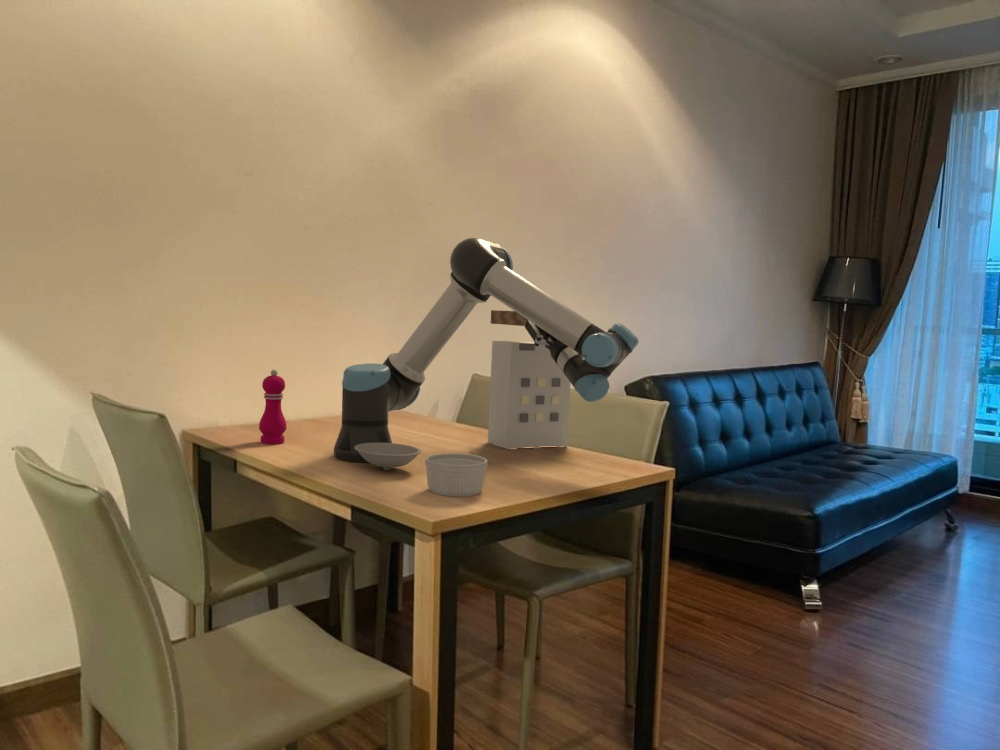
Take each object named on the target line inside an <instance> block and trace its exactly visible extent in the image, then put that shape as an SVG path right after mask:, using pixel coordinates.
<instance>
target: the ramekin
mask: <svg viewBox="0 0 1000 750" xmlns="http://www.w3.org/2000/svg"><path fill="white" fill-rule="evenodd" d="M424 465H425V467H426V482H427V486H428V489H429V490H430V492H432V493H434V494H436V495H438V496H439V495H440V496H443V497H444V496H447V497H459V498H460V497H472V496H475V495H478V494H479V493H480V492H481V491H482V489H483V487H484V483H485V478H486V469H487V467H488V459H487V458H485V457H483V456H480V455H476V454H469V453H459V452H458V453H457V452H456V453H455V452H451V453H448V452H447V453H434V454H431V455H428V456H426V457H425V462H424Z"/></svg>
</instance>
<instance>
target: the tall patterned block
mask: <svg viewBox="0 0 1000 750" xmlns="http://www.w3.org/2000/svg"><path fill="white" fill-rule="evenodd" d="M491 343H492V344H491V365H490V367H491V368H490V370H491V371H490V384H489V385H490V388H489V390H490V391H489V410H488V411H489V412H488V427H487V431H488V432H487V443H488V442H489V443H488V444H490V443H491V444H490V445H493V444H494V445H493V446H496V445H497V446H496V447H498V446H500V447H499V448H501V447H503V448H506V449H510V448H523V447H524V448H525V447H540V446H564V447H563V448H567V447H568V436H569V435H568V434H569V417H570V400H571V399H570V398H571V382H570V381H569V380H568V378H567V377H566V376H565V374H564V373H563V372H562V371H561V369H560V368H559V367H558V365H557V364H556V362H555V361H554V360H553V358H552V357H551V354H550V350H549V349H548V348H546V347H545V345H542V344H539V346H535V344H534V341H514V340H512V341H510V340H509V341H507V340H492V341H491ZM503 448H502V449H503ZM506 449H505V450H506ZM510 450H511V449H510Z"/></svg>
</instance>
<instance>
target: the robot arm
mask: <svg viewBox="0 0 1000 750" xmlns="http://www.w3.org/2000/svg"><path fill="white" fill-rule="evenodd" d="M449 259H450V260H449V264H450V268H451V273H450V274H449V277H450V278H449V279H450V284H449V285H448V287H447V288H446V289H445V291H444V292H443V293H442V294H441V296H440V297H439V298H438V300H437V301H436V302H435V303H434V305H433V306H432V307H431V308H430V310H429V311H428V313H427V314H426V316H424V318H423V319H422V321H421V322H420V323H419V325H418V326H417V328H416V329H415V330H414V331H413V333H412V334H411V335H410V337H409V338H408V339H407V341H406V342H405V343H404V345H403V346H401V348H400V350H399V351H398V352H393V353H390V354H389V355H388V356H387V358H386V359H385V360H384V362H383V363H361V364H359V363H358V364H352V365H350V366H348V367H346V368H345V369H344V370H343V375H342V381H341V385H342V389H341V390H342V391H341V392H342V393H341V399H342V401H341V427H340V430H339V433H338V436H337V438H336V441H335V444H334V447H333V458H335V459H337V460H339V461H345V462H352V463H353V462H355V463H368V462H367V461H366V460H365V459H364V458H363V457H362V456H361V455H360V454H359V452H358V451H357V450H355V448H354V447H355V446H356V445H358V444H363V443H393V440H392V437H391V433H390V431H389V413H390V412H394V411H400V410H403V409H405V408H407V407H409V406H411V405H412V404H413V403H414V402H415V401H416V400H417V399H418V397H419V395H420V391H421V386H422V385H423V383H424V382H425V380H426V377H425V371H426V370H427V369H428V368H429V366H430V365H431V363H433V361H434V360H435V359H436V358H437V356H438V355H439V353H440V352H441V351H442V349H444V347H445V346H446V344H447V343H448V342H449V341H450V339H451V338H452V336H454V334H455V333H456V332H457V331H458V329H459V327H460V326H461V325H462V323H464V321H465V320H466V319H467V317H468V316H469V315H470V313H471V312H472V311H473V309H474V308H475V307H476V306H477V304H482V303H487V301H488V299H489V298H490V297H492V298H495V300H497V301H499V302H500V303H502V304H503V305H505V306H507V307H508V308H509V309H511V311H516V312H517V313H519V314H520V315H522V316H523V317H525V318H526V320H527V321H526V324H525V326H524V329H525V330H526V332H527V333H528V334H529V336H530V337H531V338H532V340H533V342H534V344H535V346H539V344H542V345H545V347H546V348H548V349H549V350H550V354H551V357H552V358H553V360H554V361H555V362H556V364H557V365H558V367H559V368H560V369H561V371H562V372H563V373H564V374H565V376H566V377H567V378H568V380H569V381H570V382H571V383H570V385H572V387H573V389H574V390H575V392H577V393H578V395H579V396H580V397H581V398H582V399H583V400H584V401H587V402H590V403H593V402H598V401H600V400H602V399H603V398H604V397H605V396H607V394H608V391H609V390H610V382H609V379H608V378H610V376H611V375H612V373H613V372H614V371H615V370H616V369H617V368H618V367H619V366H620V365H621V364H622V363H623V362H624V360H625V359H626V358H627V357H628V356H629V355H630V354H631V353H632V352H633V351H634V349H635V348H636V347H637V346H638V345H639V339H638V337H637V336H636V335H635V334H634V332H632V331H631V330H630V329H629V328H627V327H626V326H625V325H623V324H622V323H620V322H616V323H614V324H613V325H612V326H611V327H610V328H608V330H607V331H605V330H603V329H602V328H600V327H599V326H597V325H595V324H594V323H593V322H591V321H590V320H588V319H586V318H585V317H584V316H582V315H581V314H579V313H578V312H575V310H572V309H571V308H569V307H568V306H566V305H565V304H563V303H562V302H560V301H559V300H557V299H555V297H552V296H551V295H549V294H548V293H546V292H545V291H543V290H542V289H540V288H539V287H537V286H536V285H534V284H533V283H531V282H530V281H528V279H527V280H526V279H525V278H524V277H522V276H520V275H519V274H518V273H516V272H514V271H513V270H514V262H513V259H512V256H511V255H510V253H509V252H508V250H507V249H506V248H505V247H503V246H502V245H500V244H499V243H497V242H495V241H488V240H484V239H482V238H476V237H471V238H470V237H469V238H466V239H463V240H462V241H460V242H459V243H458V244H456V245H455V246H454V248H453V250H452V252H451V254H450V257H449Z"/></svg>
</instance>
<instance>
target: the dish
mask: <svg viewBox="0 0 1000 750" xmlns="http://www.w3.org/2000/svg"><path fill="white" fill-rule="evenodd" d="M354 448H355V450H357V451H358V452H359V454H360V455H361V456H362V457H363V458H364V459H365V460H366V461H367V462H366V463H369V464H371V465H373V466H375V467H380V468H381V467H382V469H383V470H384V471H390V470H392V468H399V467H404V466H406V465H408V464H410V463H411V462H413V460H414V459H416V458H417V457H418V455H420V454H422V449H420V448H419V447H417V446H413V445H410V444H409V445H408V444H403V443H394V442H392V443H363V444H358V445H356V446H355V447H354Z"/></svg>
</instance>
